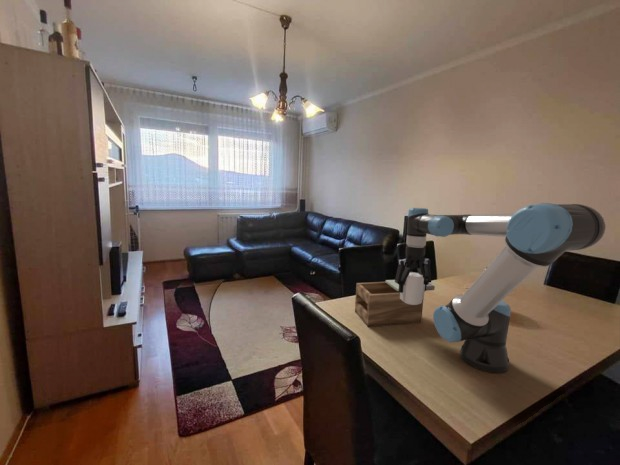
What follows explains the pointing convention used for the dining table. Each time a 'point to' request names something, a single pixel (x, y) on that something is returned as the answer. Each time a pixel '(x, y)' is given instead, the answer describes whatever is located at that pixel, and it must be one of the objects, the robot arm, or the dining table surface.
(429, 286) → the lid
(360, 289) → the crate
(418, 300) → the beverage can
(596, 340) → the dining table surface
